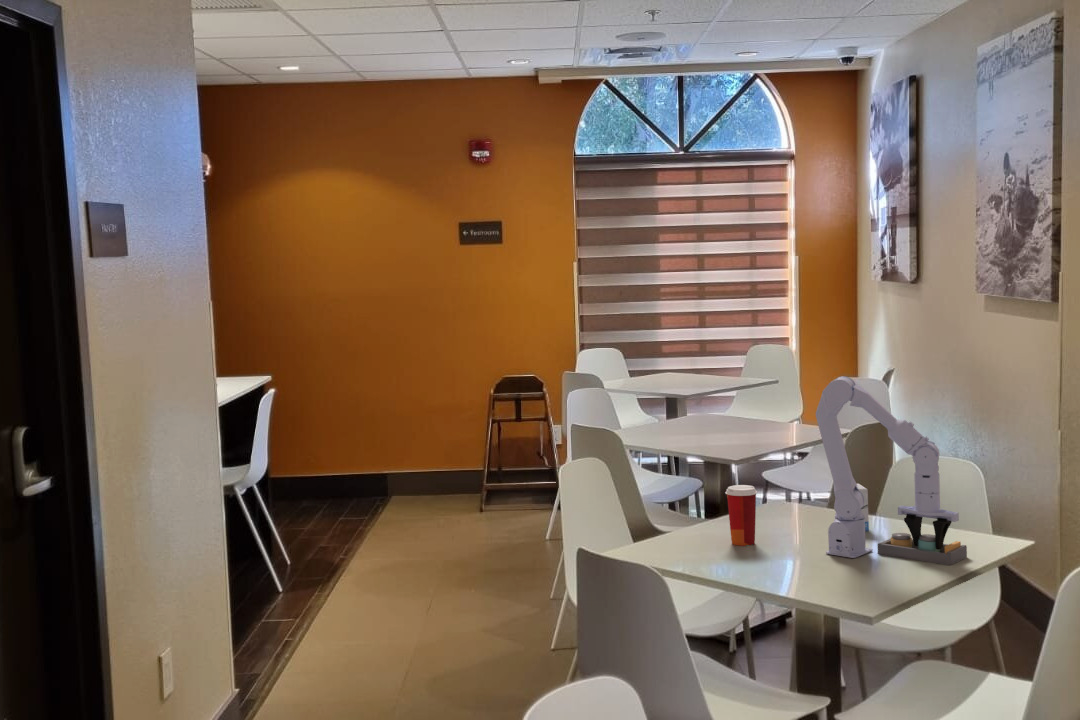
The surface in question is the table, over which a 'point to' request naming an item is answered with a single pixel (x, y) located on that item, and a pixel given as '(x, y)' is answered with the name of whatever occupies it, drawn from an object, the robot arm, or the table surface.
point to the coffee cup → (742, 514)
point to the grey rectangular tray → (923, 553)
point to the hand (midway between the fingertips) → (928, 546)
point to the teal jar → (927, 542)
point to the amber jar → (901, 540)
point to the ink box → (865, 505)
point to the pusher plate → (952, 546)
